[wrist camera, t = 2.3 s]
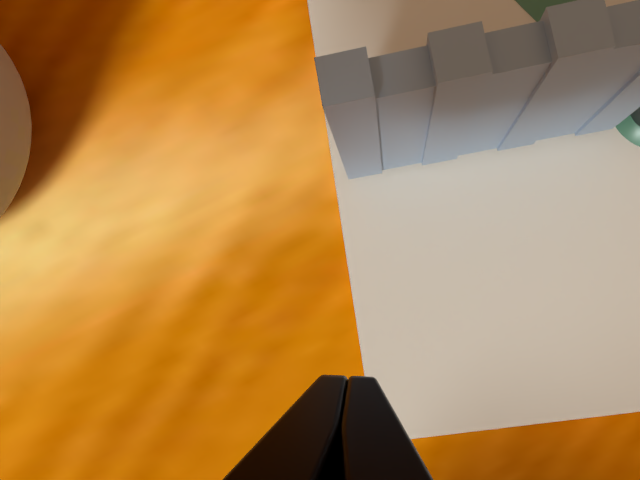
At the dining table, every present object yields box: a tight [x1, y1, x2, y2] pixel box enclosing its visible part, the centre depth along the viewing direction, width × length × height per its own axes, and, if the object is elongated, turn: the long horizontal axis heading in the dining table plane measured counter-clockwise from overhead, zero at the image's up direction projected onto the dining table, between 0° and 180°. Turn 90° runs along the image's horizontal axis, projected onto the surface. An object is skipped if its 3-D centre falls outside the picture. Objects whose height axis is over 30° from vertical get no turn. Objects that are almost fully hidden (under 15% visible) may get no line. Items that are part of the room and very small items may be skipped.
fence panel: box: [314, 0, 640, 179], centre depth 16 cm, size 9×1×7 cm, turn 100°
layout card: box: [307, 0, 640, 439], centre depth 19 cm, size 20×18×1 cm
